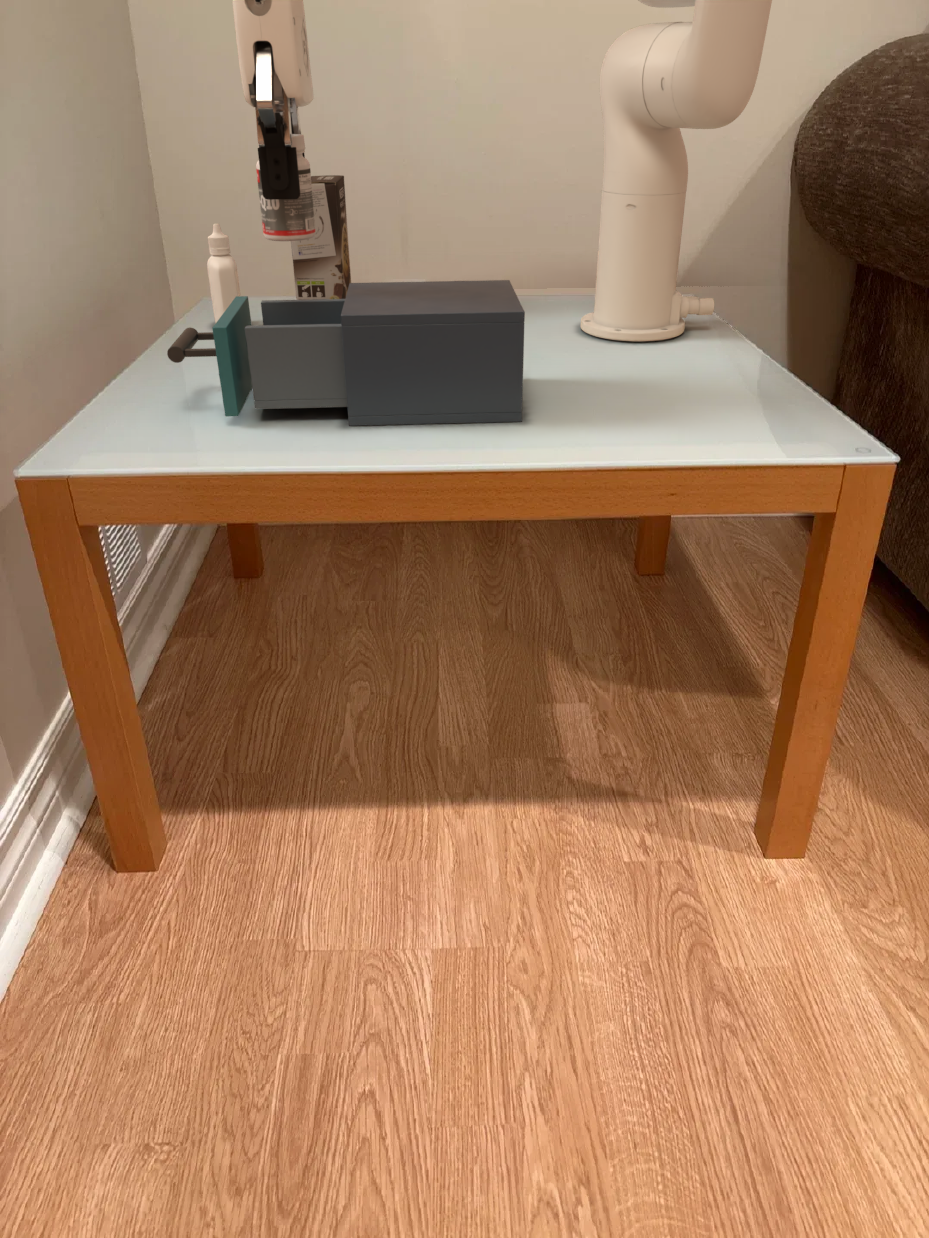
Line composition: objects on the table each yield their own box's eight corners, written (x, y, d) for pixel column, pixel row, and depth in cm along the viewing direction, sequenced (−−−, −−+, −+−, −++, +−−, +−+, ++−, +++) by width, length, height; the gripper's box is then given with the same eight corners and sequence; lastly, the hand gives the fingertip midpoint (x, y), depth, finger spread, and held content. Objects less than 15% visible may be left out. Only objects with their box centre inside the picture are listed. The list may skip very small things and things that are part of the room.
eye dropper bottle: (253, 321, 118) (241, 220, 112) (239, 332, 113) (226, 227, 107) (220, 320, 118) (206, 220, 112) (205, 331, 114) (190, 227, 108)
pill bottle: (255, 237, 85) (243, 135, 80) (300, 232, 87) (291, 132, 83) (278, 243, 81) (267, 137, 77) (325, 238, 84) (316, 135, 80)
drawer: (169, 418, 83) (153, 328, 79) (197, 377, 93) (184, 297, 89) (386, 412, 83) (382, 324, 79) (389, 373, 94) (385, 293, 90)
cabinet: (348, 426, 83) (340, 315, 78) (356, 381, 95) (349, 282, 90) (521, 421, 84) (524, 311, 79) (507, 378, 96) (509, 280, 91)
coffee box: (346, 318, 119) (336, 181, 111) (296, 318, 119) (283, 182, 111) (354, 303, 127) (345, 174, 119) (307, 303, 127) (296, 174, 119)
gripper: (295, -69, 66) (319, 207, 75) (318, -45, 80) (335, 184, 90) (190, -68, 66) (227, 208, 75) (232, -44, 80) (258, 185, 90)
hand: (285, 192), depth 82 cm, fingers closed on pill bottle, 4 cm apart
